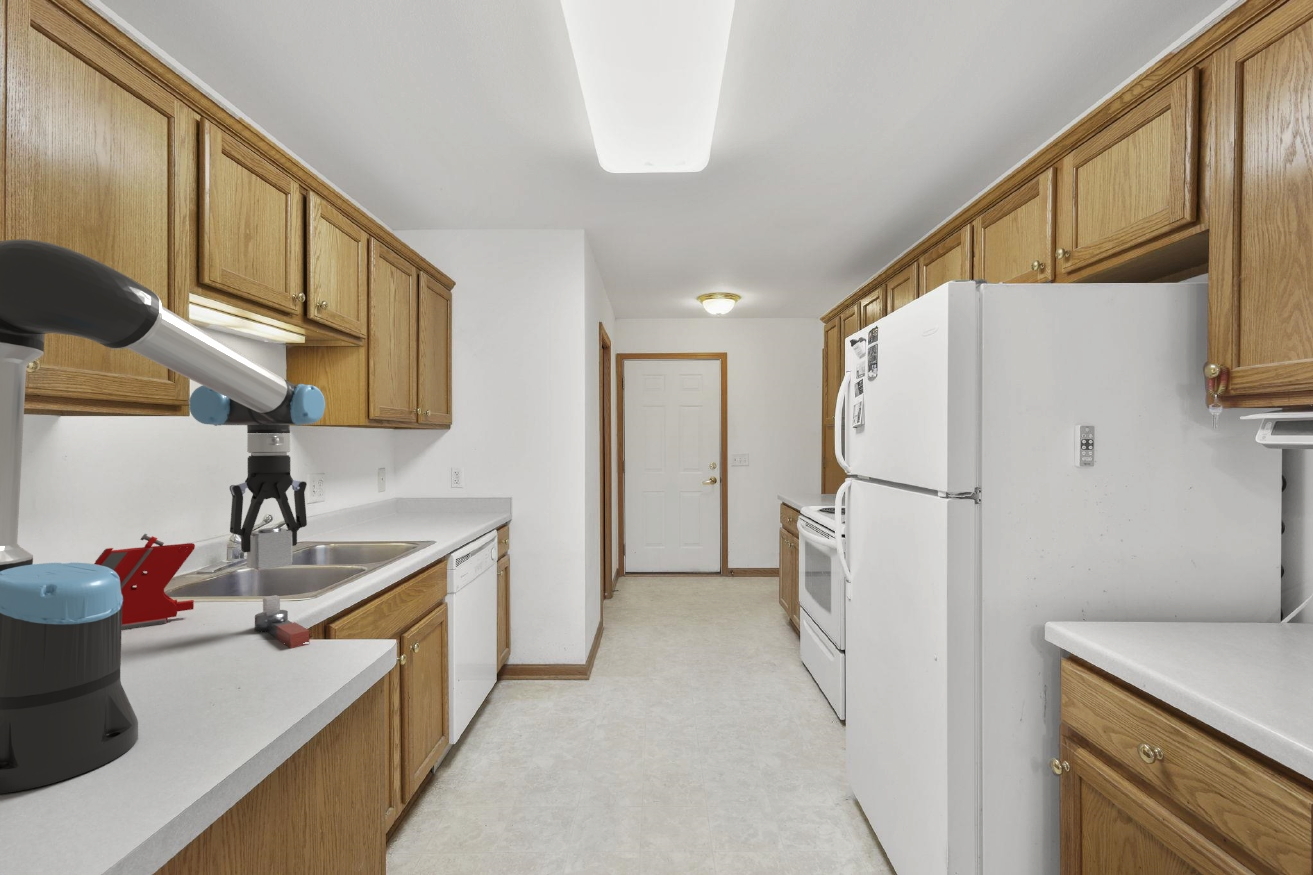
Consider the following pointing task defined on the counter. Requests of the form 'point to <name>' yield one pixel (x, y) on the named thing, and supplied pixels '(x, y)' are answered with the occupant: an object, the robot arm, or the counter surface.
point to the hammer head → (272, 548)
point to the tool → (147, 580)
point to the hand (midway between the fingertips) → (270, 564)
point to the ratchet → (280, 624)
